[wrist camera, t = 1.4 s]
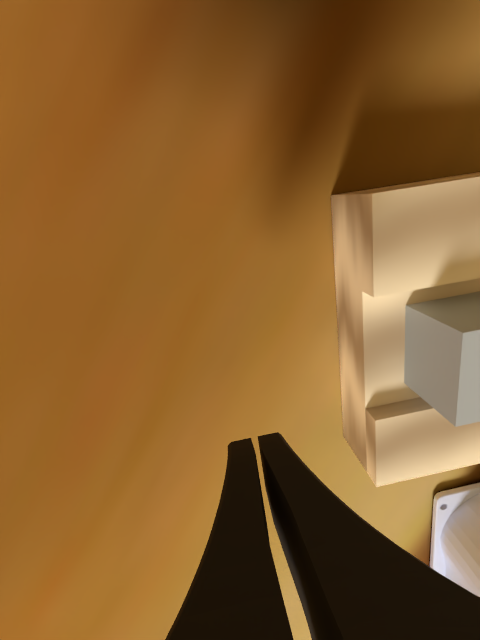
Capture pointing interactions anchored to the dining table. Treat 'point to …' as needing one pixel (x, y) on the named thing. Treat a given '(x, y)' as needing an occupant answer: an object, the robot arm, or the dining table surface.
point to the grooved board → (400, 317)
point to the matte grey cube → (445, 355)
